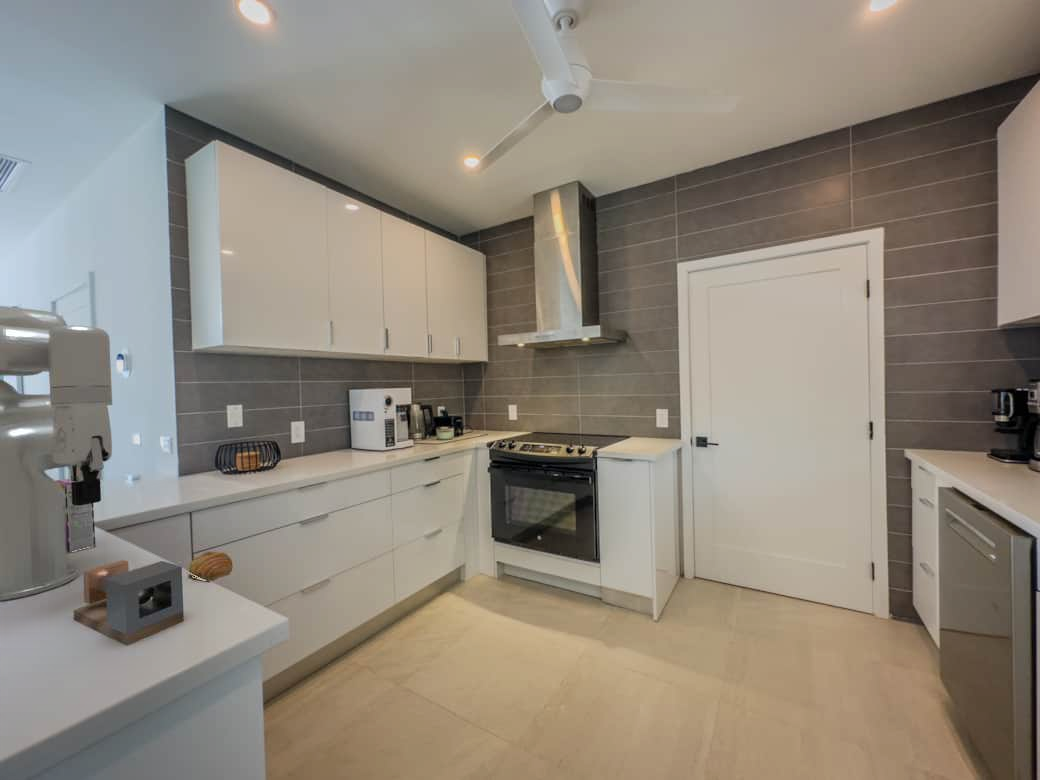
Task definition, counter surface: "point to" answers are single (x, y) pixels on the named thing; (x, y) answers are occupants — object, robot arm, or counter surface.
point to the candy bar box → (77, 521)
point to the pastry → (211, 566)
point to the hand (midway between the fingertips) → (86, 503)
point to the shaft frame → (137, 603)
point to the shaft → (97, 582)
